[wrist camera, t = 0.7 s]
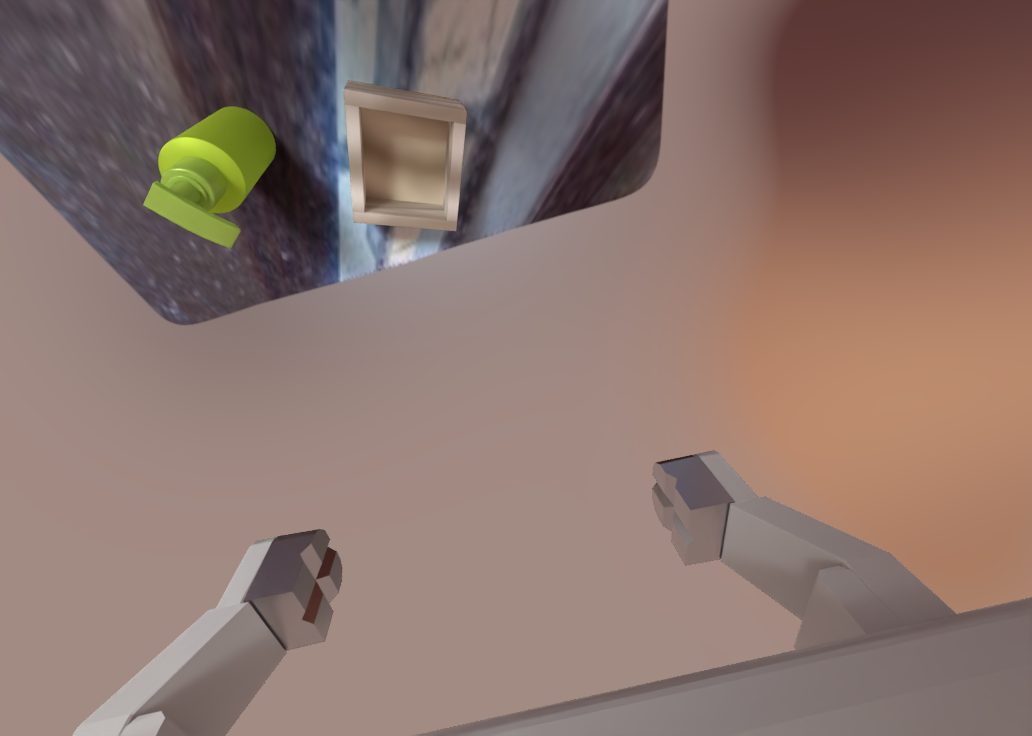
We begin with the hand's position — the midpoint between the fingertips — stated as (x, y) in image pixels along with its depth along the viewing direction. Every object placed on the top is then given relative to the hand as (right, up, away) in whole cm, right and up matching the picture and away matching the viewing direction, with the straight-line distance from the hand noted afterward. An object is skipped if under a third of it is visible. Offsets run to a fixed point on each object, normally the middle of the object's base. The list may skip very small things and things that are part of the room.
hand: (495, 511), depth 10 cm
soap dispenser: (-28, +28, +33) cm, 51 cm away
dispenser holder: (-12, +28, +37) cm, 48 cm away
